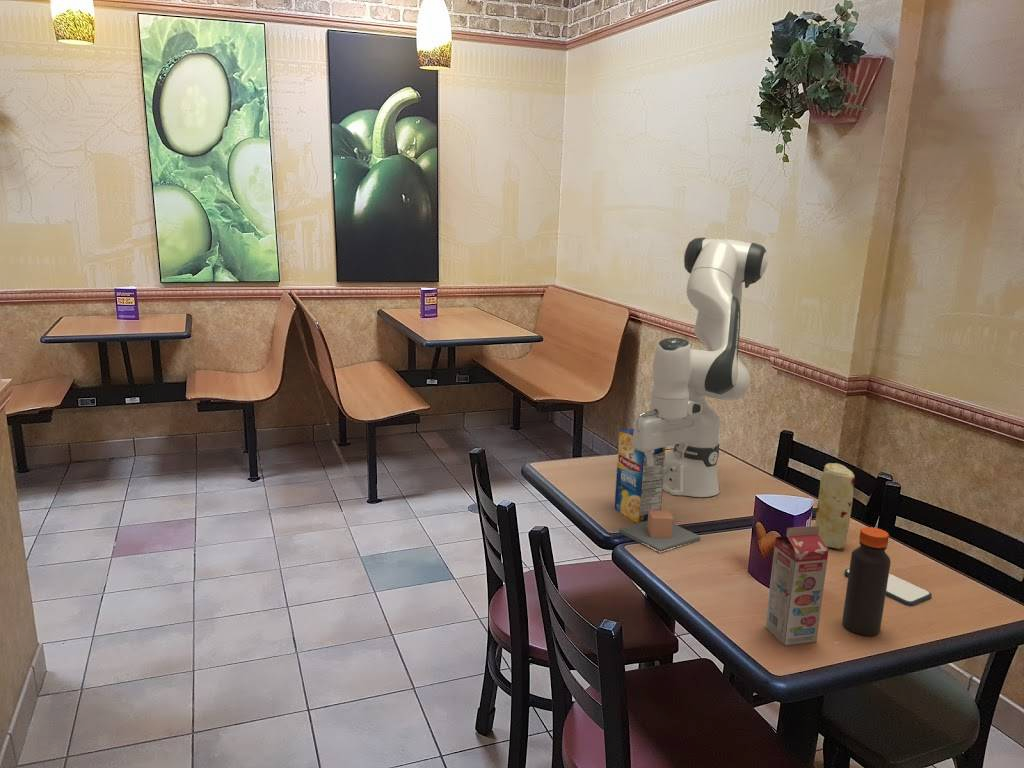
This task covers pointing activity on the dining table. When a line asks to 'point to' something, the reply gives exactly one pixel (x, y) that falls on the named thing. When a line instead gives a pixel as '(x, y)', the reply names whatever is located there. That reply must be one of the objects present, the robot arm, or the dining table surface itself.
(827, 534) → the food model
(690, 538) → the coaster
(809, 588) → the juice carton
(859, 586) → the bottle
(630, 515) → the blue tall cardboard box
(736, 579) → the dining table surface
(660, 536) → the cube
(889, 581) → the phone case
